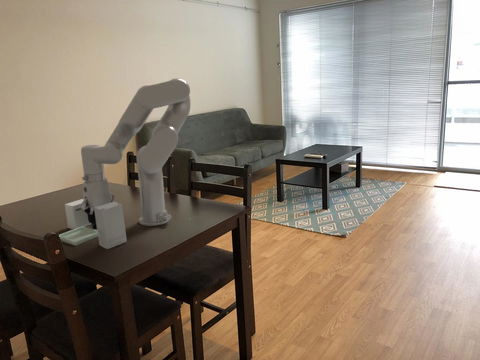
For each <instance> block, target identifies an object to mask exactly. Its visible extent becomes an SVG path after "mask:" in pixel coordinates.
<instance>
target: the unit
mask: <svg viewBox="0 0 480 360" xmlns="http://www.w3.org/2000/svg"><path fill="white" fill-rule="evenodd" d="M83 200H84V198H81V199H78V200H74V201H71V202H68V203H64V210H65V215H66V216H65V217H66V222H67V228H68V229H70V230H74V229H76V228H79V227H82V226H84V227H88V226H92V225H91V223H89V221H88V215H87V213H86V212H84V211H83V210H82V209H80V208H79V206H80V205H81V203H82V202H83ZM85 207H86V208H87V206H85Z"/></svg>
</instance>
